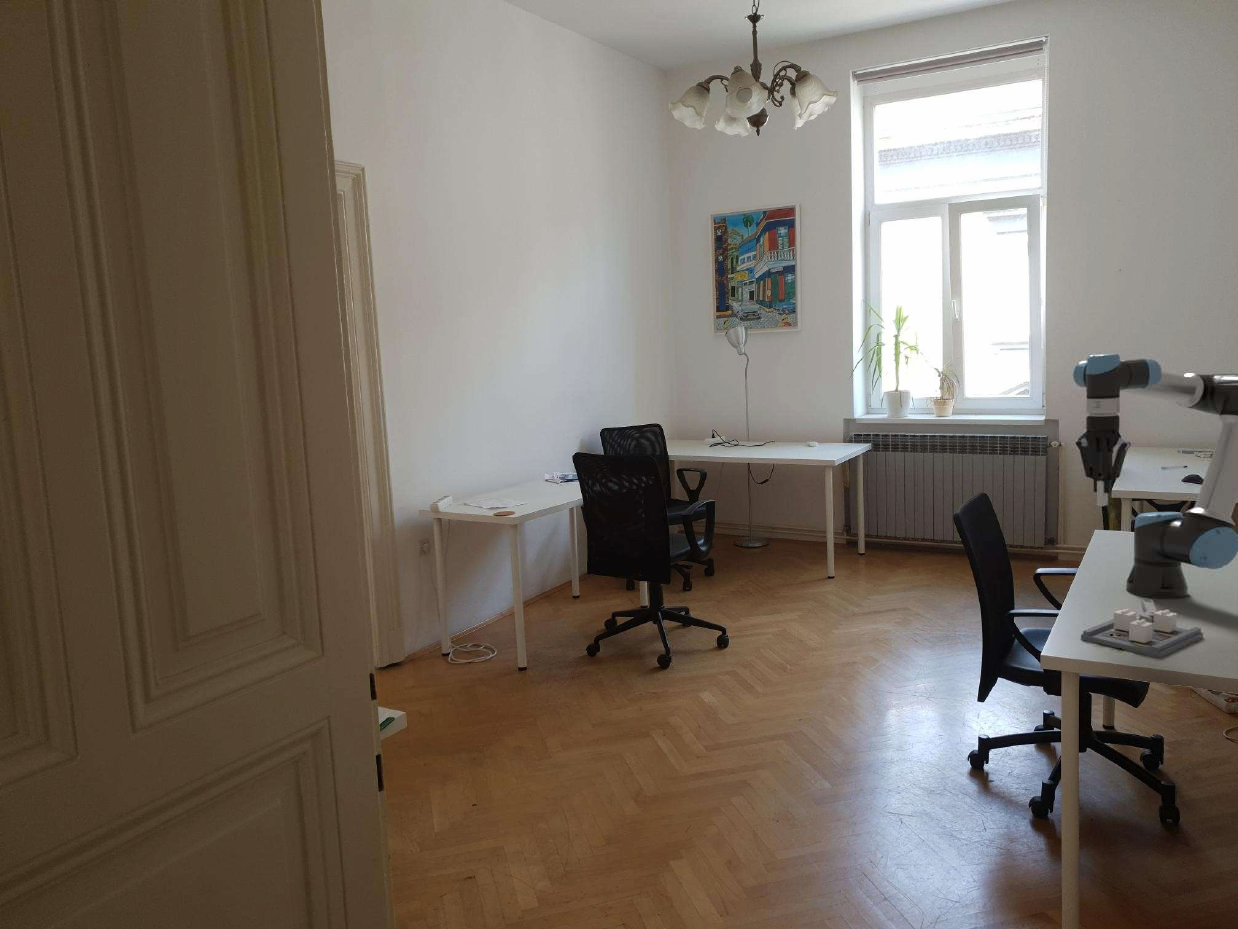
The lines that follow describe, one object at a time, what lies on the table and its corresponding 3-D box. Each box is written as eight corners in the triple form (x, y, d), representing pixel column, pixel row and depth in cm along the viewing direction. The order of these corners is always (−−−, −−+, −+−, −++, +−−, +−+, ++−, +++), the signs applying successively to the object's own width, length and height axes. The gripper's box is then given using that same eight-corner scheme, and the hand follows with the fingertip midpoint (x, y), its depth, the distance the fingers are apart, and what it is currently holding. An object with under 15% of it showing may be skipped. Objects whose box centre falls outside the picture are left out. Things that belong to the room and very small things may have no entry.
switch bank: (1125, 621, 230) (1126, 613, 230) (1203, 637, 215) (1203, 628, 215) (1080, 639, 218) (1081, 630, 218) (1159, 657, 203) (1159, 648, 203)
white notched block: (1160, 626, 220) (1160, 608, 220) (1176, 629, 217) (1176, 611, 217) (1153, 629, 218) (1153, 610, 218) (1169, 632, 215) (1169, 614, 215)
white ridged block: (1136, 636, 213) (1136, 617, 213) (1152, 639, 211) (1152, 620, 210) (1128, 639, 211) (1129, 620, 211) (1144, 643, 209) (1145, 624, 208)
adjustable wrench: (1140, 603, 246) (1140, 597, 246) (1167, 606, 243) (1168, 600, 242) (1139, 622, 224) (1139, 615, 224) (1169, 626, 221) (1169, 619, 221)
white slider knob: (1120, 625, 222) (1121, 607, 222) (1136, 628, 219) (1136, 610, 219) (1113, 628, 220) (1114, 610, 220) (1128, 631, 217) (1129, 613, 217)
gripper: (1070, 415, 232) (1070, 504, 235) (1122, 416, 221) (1122, 510, 224) (1084, 412, 236) (1083, 500, 239) (1136, 413, 226) (1135, 505, 229)
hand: (1102, 505), depth 232 cm, fingers closed
